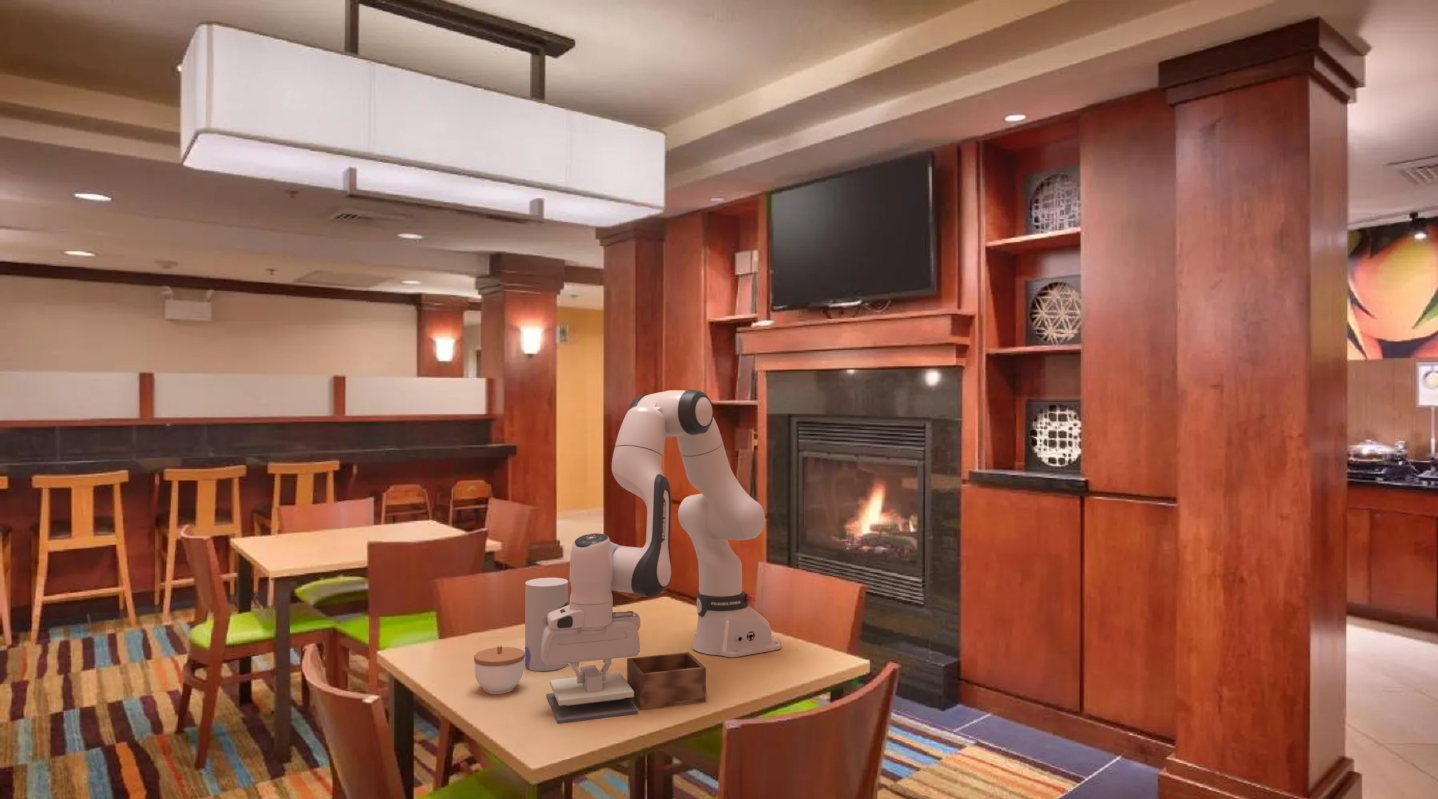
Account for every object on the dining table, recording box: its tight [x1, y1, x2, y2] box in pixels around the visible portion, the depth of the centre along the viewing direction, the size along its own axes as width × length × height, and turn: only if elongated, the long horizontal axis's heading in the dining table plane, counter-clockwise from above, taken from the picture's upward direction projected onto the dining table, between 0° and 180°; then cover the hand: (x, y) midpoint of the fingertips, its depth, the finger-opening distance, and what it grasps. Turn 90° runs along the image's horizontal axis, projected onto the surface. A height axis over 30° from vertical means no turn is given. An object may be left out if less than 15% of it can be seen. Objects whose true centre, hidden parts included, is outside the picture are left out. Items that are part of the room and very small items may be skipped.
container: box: [524, 577, 569, 672], centre depth 198 cm, size 10×10×20 cm
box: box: [626, 651, 707, 710], centre depth 176 cm, size 14×12×7 cm
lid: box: [549, 664, 634, 706], centre depth 171 cm, size 15×13×5 cm
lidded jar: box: [473, 645, 525, 695], centre depth 180 cm, size 11×11×9 cm
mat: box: [546, 692, 639, 724], centre depth 171 cm, size 16×16×1 cm
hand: (591, 681), depth 171 cm, fingers closed on lid, 3 cm apart
